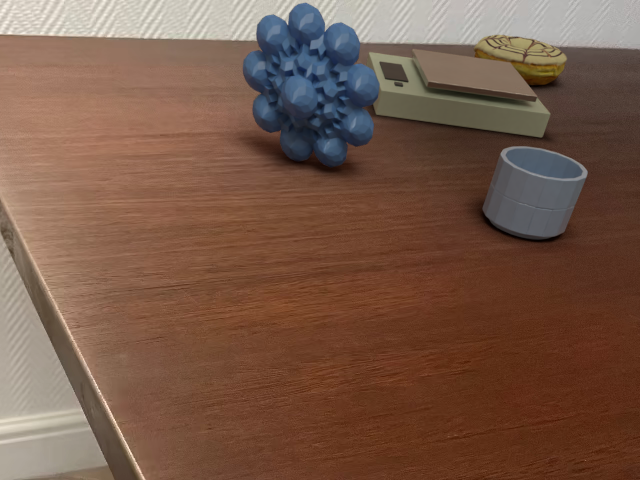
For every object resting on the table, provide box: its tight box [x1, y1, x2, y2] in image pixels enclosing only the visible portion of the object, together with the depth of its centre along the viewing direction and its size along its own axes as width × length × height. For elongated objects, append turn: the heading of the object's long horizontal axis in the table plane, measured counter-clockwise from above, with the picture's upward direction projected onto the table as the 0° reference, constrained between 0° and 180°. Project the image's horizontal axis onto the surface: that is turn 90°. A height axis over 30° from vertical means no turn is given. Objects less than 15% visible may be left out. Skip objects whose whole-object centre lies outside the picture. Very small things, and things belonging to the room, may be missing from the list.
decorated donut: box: [473, 34, 568, 86], centre depth 98 cm, size 10×11×4 cm
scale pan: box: [410, 48, 538, 102], centre depth 84 cm, size 11×12×1 cm
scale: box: [365, 51, 551, 138], centre depth 86 cm, size 17×14×3 cm
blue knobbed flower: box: [242, 2, 380, 168], centre depth 64 cm, size 12×7×12 cm, turn 67°
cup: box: [481, 145, 589, 240], centre depth 62 cm, size 6×6×5 cm
